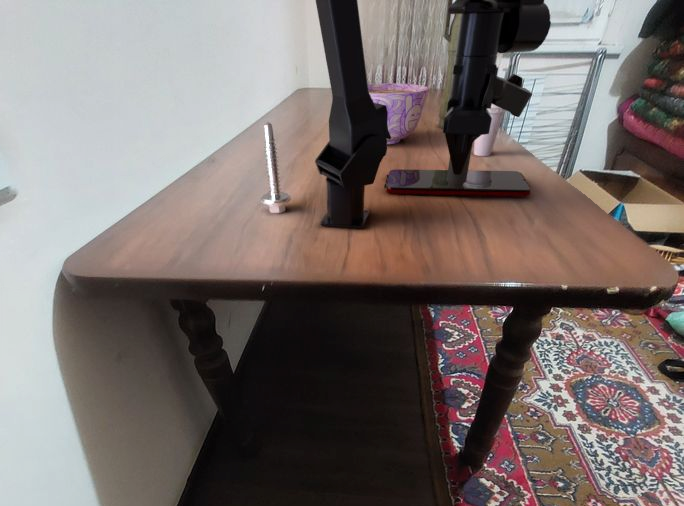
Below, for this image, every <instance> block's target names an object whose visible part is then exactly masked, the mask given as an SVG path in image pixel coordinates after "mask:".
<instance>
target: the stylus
mask: <svg viewBox="0 0 684 506" xmlns="http://www.w3.org/2000/svg"><path fill="white" fill-rule="evenodd" d="M473 146H474V143H473V144H472V146H471V149H470V151H469V154H468V156H467V159H466V162H465V164H464V167H463V170H462V172H461V174H460V175H456V174H454V172H453V168H452V163H451V159H450V158H449V159H448V167H447V170H448V173H447V181H448V182H449V183H448V187H449V188H451V189H461V188H462V187H463V183H465V182H466V179H467V173H468V170H469V166H470V161H471V155H472V149H473Z"/></svg>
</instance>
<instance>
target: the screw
mask: <svg viewBox="0 0 684 506" xmlns="http://www.w3.org/2000/svg"><path fill="white" fill-rule="evenodd" d="M263 135H264V147H263V148H264V149H265V151H264V152H265V155H264V156H265V158H266V159H265V161H266V166H267V167H266V169H267V172H266V173H267V174H268V175H267V177H268V179H267V181H268V182H269V183H268V185H269V187H268V189H269V191H268V192H267V193H264V194H263V195H262V197H260V202H261V203H262V204H264V205H267V206H268V211H269V212H270V213H271V214H281V213H284V212H286V204H288V203H289V202H291V201H292V197H291V195H290V194H289V193H288V192H284V191H281V190H282V188H281V184H280V182H281V180H280V176H279V175H280V172H279V171H280V169H279V164H278V162H279V160H278V158H279V157H278V156H277V155H278V152H277V150H278V148H277V147H276V146H277V143H276V139H275V137H274V135H275V134H274V128H273V124H272V123H271V122H269V121H266V123H264V125H263Z"/></svg>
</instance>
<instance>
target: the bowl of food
mask: <svg viewBox="0 0 684 506" xmlns="http://www.w3.org/2000/svg"><path fill="white" fill-rule="evenodd" d="M429 89H430V87H429V86H425V85H422V84H417V83H416V84H414V83H398V82H395V83H393V82H391V83H389V82H388V83H382V82H381V83H368V90H369V94H370V96H371V98H372V100H373V102H374V103H378V104H382V105H386V107H387V112H388V119H387V126H388V131H389V134H390V136H391V139H387V145H394V144H399V143H400V141H401V140H402V139H406V138H407V137H409V136H411V135H412V134H413V133H414V131H415V130H416V129H417V127H418V125H419V121H420V119H421V116H422V113H423V110H424V106H425V103H426V100H427V97H428V93H429Z"/></svg>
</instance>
